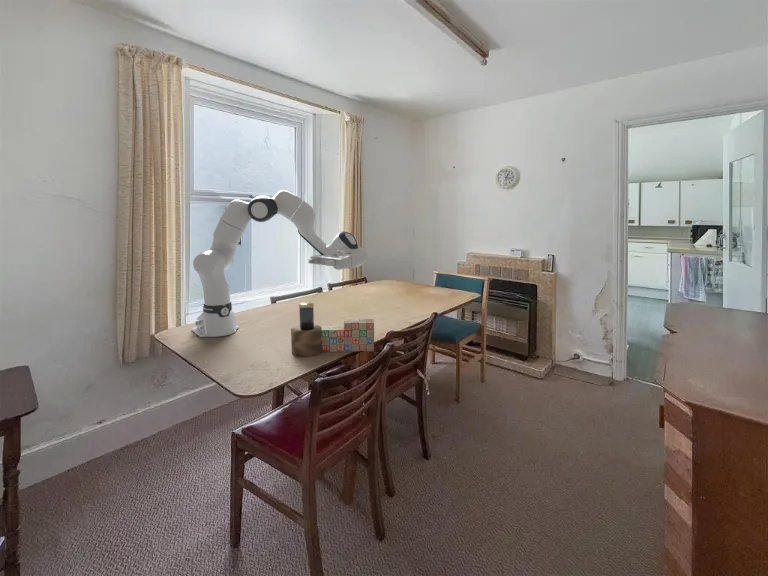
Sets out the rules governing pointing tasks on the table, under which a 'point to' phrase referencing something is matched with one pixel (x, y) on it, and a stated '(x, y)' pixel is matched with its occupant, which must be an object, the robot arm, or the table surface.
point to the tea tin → (306, 316)
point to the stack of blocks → (349, 336)
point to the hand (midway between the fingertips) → (316, 262)
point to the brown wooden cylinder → (306, 341)
